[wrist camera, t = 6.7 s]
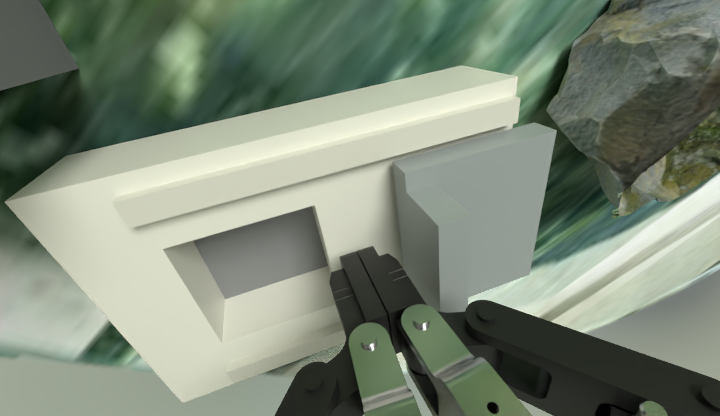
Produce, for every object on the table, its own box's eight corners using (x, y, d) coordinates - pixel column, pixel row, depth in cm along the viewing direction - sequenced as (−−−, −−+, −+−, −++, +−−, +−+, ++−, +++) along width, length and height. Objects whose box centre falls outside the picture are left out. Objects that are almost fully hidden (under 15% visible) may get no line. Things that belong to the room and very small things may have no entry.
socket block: (65, 155, 13) (-7, 209, 9) (461, 65, 16) (527, 78, 12) (193, 337, 19) (180, 413, 16) (457, 247, 22) (499, 292, 19)
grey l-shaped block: (392, 161, 13) (438, 205, 10) (534, 122, 14) (614, 150, 11) (406, 299, 17) (440, 358, 14) (513, 260, 18) (566, 307, 15)
